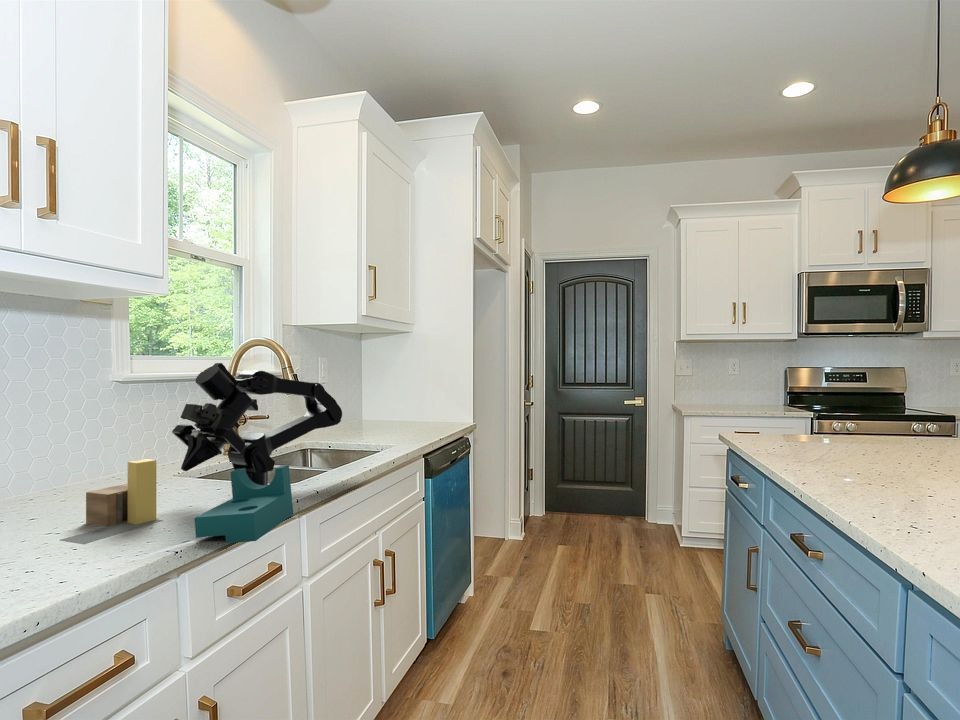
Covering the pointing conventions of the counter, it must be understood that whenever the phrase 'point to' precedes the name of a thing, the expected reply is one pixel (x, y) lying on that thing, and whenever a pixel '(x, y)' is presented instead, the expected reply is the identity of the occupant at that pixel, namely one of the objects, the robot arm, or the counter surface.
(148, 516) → the yellow block
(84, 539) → the mat
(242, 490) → the teal l-shaped bracket
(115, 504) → the brown box
